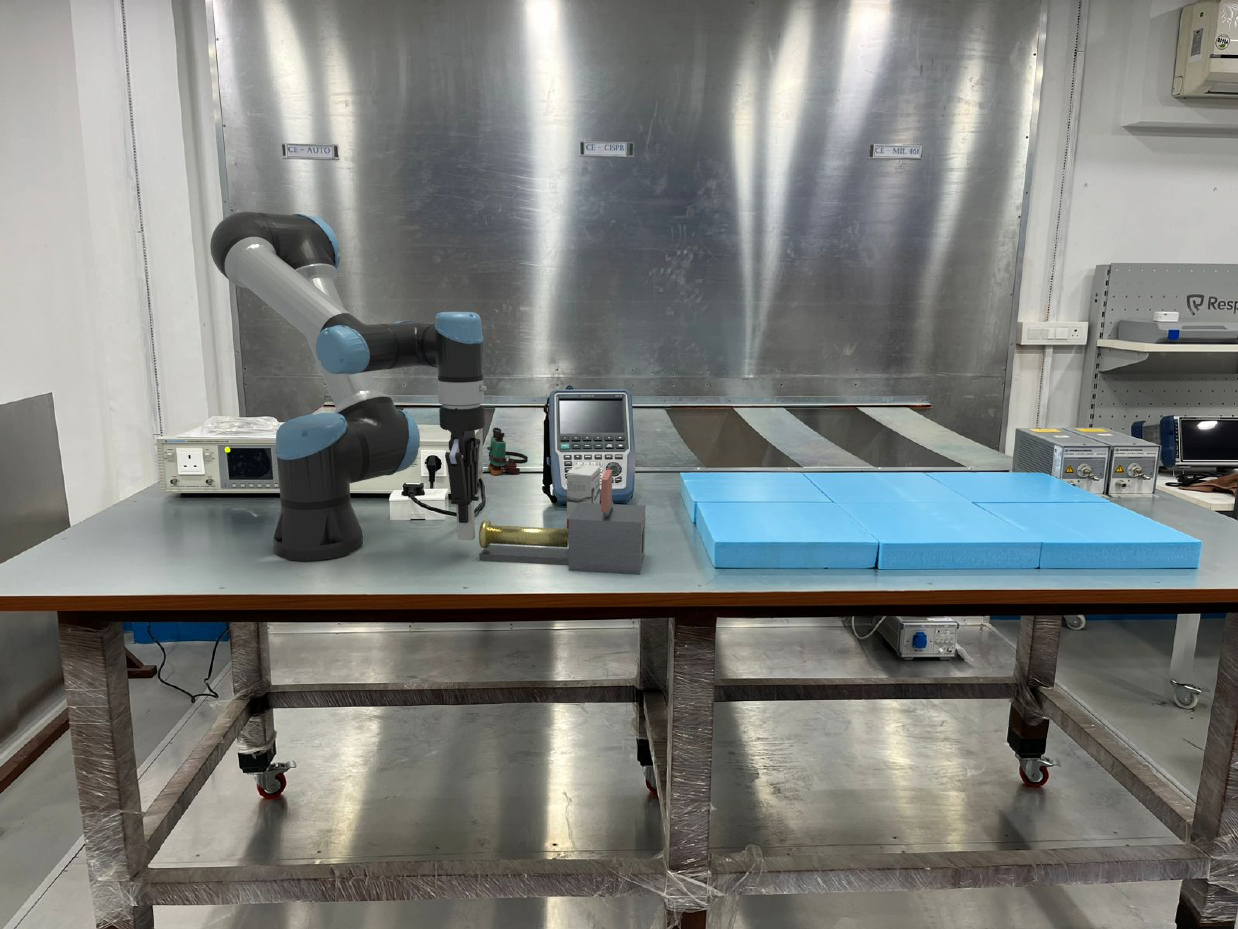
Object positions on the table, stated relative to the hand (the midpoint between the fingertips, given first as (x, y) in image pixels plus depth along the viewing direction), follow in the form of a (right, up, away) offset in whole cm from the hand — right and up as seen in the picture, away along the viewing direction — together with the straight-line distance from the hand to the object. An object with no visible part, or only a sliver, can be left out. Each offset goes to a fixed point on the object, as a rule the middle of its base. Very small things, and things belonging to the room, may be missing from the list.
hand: (466, 538), depth 147 cm
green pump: (-1, +11, +60) cm, 61 cm away
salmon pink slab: (+25, +5, -4) cm, 26 cm away
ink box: (+20, 0, +18) cm, 26 cm away
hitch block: (+17, -4, -1) cm, 17 cm away
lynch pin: (+10, -2, -1) cm, 11 cm away
